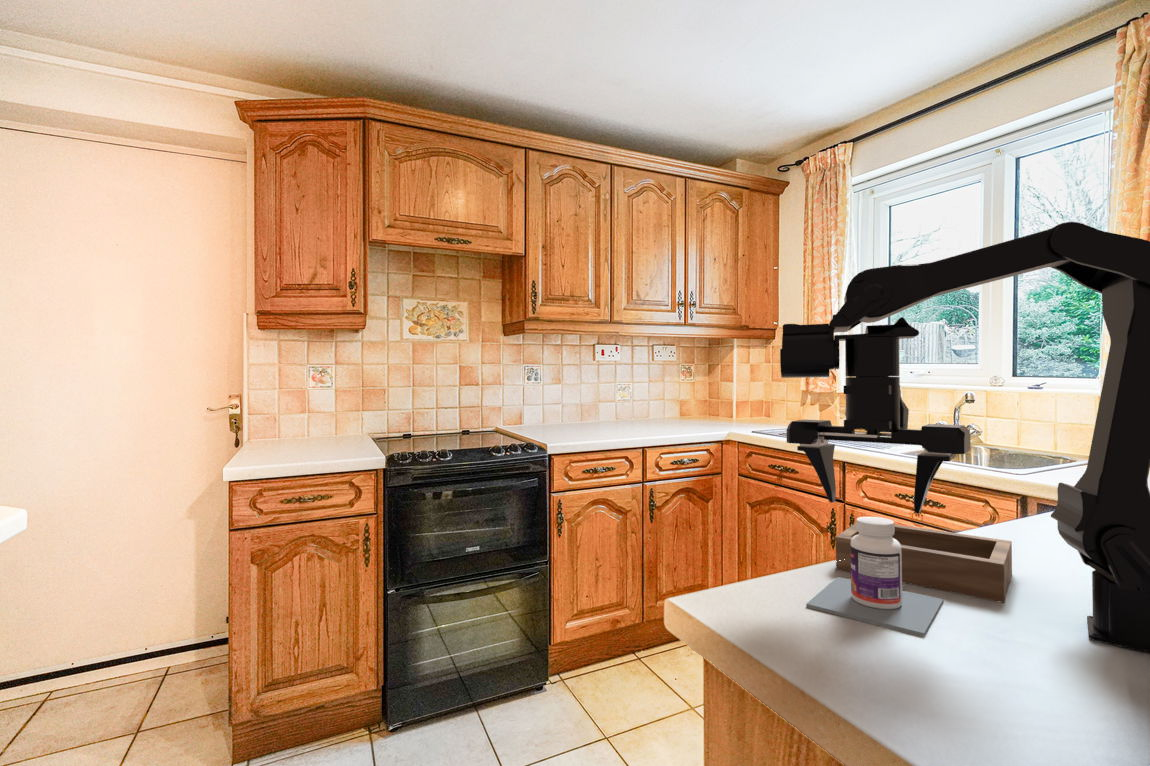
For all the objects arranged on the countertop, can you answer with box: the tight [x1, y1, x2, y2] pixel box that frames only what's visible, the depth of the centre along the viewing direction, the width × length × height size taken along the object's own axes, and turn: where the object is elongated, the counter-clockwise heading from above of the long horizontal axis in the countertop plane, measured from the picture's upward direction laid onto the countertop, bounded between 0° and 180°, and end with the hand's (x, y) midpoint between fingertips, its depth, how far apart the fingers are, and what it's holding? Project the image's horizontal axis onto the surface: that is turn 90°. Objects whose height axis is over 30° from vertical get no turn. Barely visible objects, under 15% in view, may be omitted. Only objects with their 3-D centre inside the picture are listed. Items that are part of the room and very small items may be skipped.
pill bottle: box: [850, 516, 903, 609], centre depth 66 cm, size 5×5×10 cm
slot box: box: [835, 522, 1013, 603], centre depth 77 cm, size 13×19×5 cm
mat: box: [805, 576, 944, 638], centre depth 66 cm, size 12×12×1 cm
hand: (873, 507), depth 66 cm, fingers open, 9 cm apart
